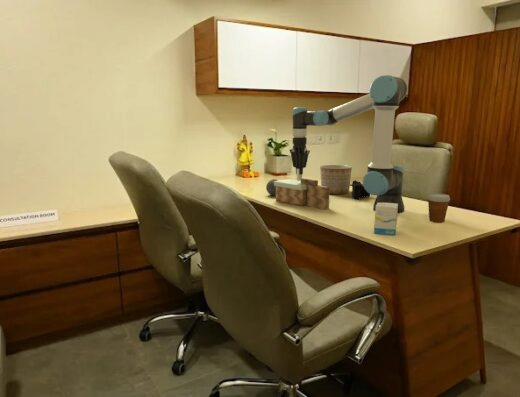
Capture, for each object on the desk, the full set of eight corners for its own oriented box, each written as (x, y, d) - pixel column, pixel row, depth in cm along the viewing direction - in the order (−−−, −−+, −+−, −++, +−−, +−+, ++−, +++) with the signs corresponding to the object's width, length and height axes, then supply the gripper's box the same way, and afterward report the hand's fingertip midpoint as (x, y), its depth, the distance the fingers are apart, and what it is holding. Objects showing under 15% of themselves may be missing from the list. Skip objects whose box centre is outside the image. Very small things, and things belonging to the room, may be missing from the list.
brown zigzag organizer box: (332, 207, 208) (333, 186, 205) (321, 210, 202) (322, 188, 200) (286, 198, 232) (286, 179, 230) (275, 200, 226) (275, 181, 224)
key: (317, 184, 209) (317, 180, 208) (314, 185, 207) (314, 180, 207) (303, 182, 216) (303, 178, 215) (300, 183, 214) (300, 178, 214)
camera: (371, 200, 225) (371, 183, 223) (351, 200, 227) (352, 183, 225) (368, 195, 238) (369, 179, 236) (350, 195, 240) (351, 179, 238)
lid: (315, 187, 216) (315, 183, 216) (301, 190, 209) (301, 185, 208) (287, 183, 231) (287, 179, 231) (273, 185, 224) (273, 181, 224)
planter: (317, 194, 244) (317, 168, 240) (322, 189, 262) (323, 164, 258) (348, 196, 238) (349, 169, 234) (352, 190, 255) (353, 165, 252)
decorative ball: (264, 196, 239) (264, 180, 237) (268, 193, 248) (268, 177, 246) (280, 197, 236) (280, 181, 234) (284, 194, 245) (284, 178, 243)
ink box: (395, 235, 159) (397, 207, 156) (373, 233, 162) (375, 205, 159) (396, 230, 166) (398, 203, 164) (375, 228, 169) (377, 201, 167)
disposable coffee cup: (421, 221, 180) (423, 195, 177) (430, 217, 186) (432, 192, 184) (443, 225, 173) (445, 198, 171) (451, 221, 180) (454, 195, 177)
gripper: (313, 136, 209) (312, 180, 214) (295, 136, 219) (295, 178, 224) (304, 137, 205) (303, 182, 209) (286, 136, 214) (286, 179, 219)
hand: (299, 180), depth 217 cm, fingers closed
